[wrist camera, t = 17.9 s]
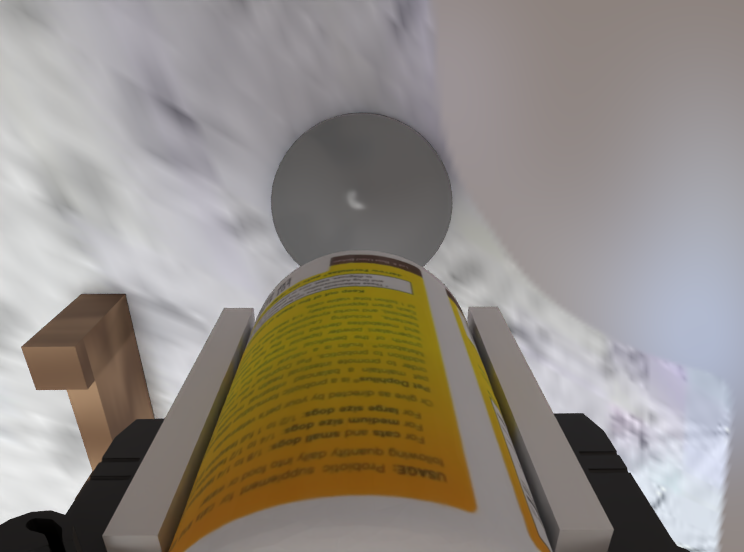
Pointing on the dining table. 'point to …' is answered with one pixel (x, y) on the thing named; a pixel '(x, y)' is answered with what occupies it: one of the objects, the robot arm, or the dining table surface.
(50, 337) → the walnut channel
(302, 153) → the slate coaster
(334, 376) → the supplement bottle
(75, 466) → the dining table surface
